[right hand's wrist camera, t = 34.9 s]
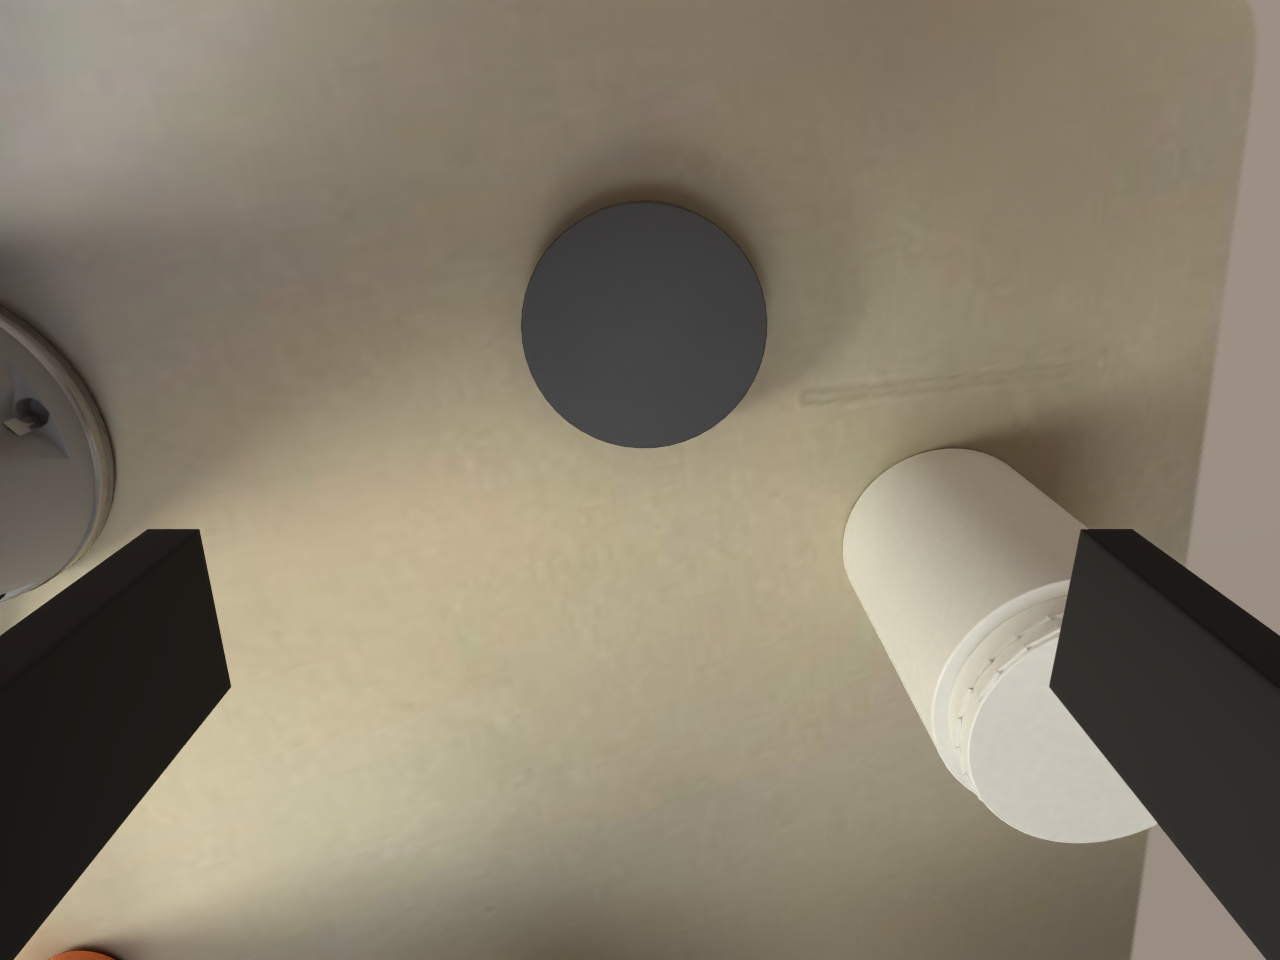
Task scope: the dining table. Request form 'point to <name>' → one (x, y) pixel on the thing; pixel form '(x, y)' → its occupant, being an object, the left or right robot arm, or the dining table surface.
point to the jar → (985, 636)
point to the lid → (644, 324)
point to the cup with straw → (81, 956)
